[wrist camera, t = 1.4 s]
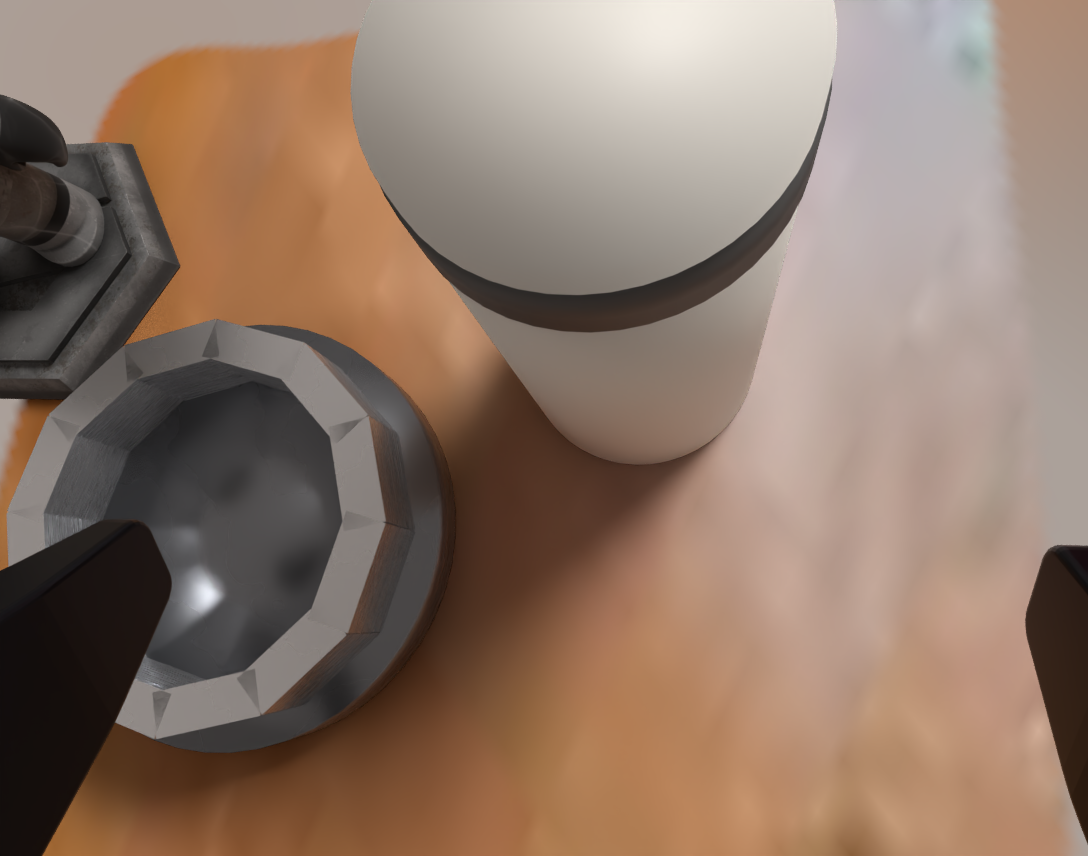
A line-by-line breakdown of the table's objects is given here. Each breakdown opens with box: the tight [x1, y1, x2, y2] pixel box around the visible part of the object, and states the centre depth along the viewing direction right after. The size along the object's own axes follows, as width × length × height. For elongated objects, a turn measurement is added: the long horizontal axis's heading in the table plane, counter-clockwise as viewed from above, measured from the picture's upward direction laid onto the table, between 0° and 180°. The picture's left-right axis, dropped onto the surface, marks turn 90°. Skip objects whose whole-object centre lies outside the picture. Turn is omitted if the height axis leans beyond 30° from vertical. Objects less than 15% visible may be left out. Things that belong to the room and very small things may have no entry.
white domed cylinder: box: [351, 0, 837, 465], centre depth 16 cm, size 6×6×12 cm
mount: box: [7, 319, 456, 753], centre depth 20 cm, size 11×11×4 cm
